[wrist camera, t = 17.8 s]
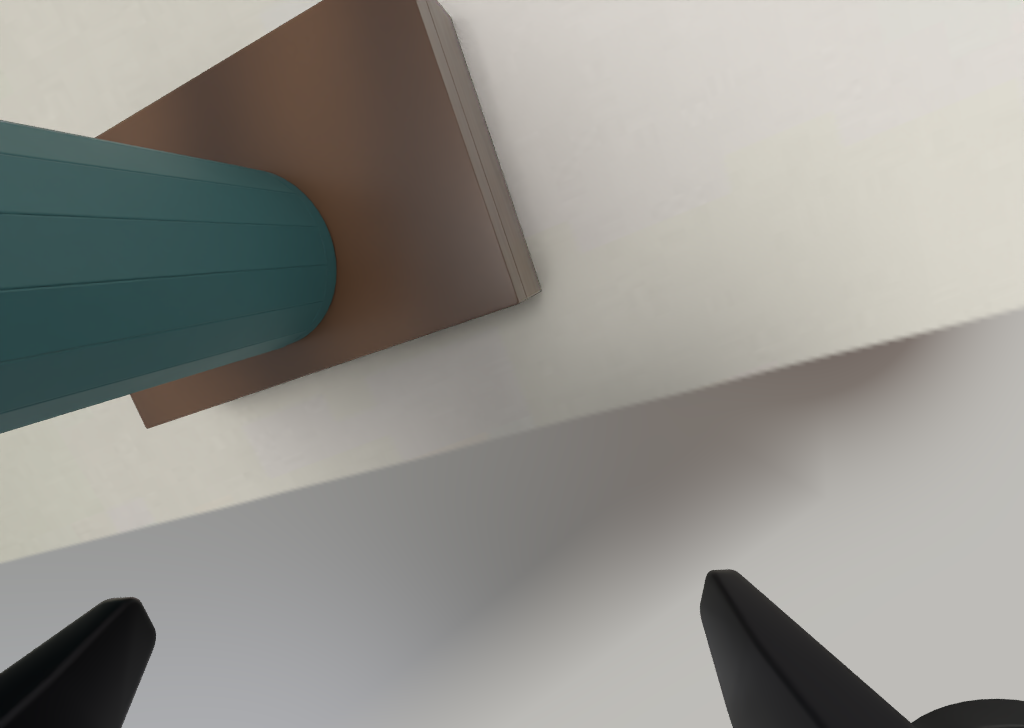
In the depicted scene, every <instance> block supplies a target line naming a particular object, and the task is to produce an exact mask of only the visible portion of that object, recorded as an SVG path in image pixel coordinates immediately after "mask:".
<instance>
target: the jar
mask: <svg viewBox="0 0 1024 728" xmlns="http://www.w3.org/2000/svg"><path fill="white" fill-rule="evenodd" d="M336 272H337V268H336V256H335V251H334V246H333V242H332V239H331V236H330V233H329V231H328V228H327V226H326V224H325V222H324V220H323V218H322V216H321V215H320V213H319V211H318V210H317V209H316V207H315V206H314V204H313V203H312V202H311V201H310V200H309V199H308V197H307V196H306V195H305V194H304V193H303V192H302V191H300V190H299V189H298V188H297V187H296V186H295V185H293V184H292V183H290V182H289V181H287V180H285V179H284V178H282V177H279V176H277V175H275V174H272V173H269V172H266V171H262V170H256V169H251V168H247V167H242V166H238V165H233V164H227V163H222V162H217V161H212V160H206V159H201V158H196V157H191V156H186V155H180V154H175V153H170V152H165V151H159V150H154V149H149V148H144V147H139V146H133V145H128V144H123V143H118V142H112V141H107V140H102V139H97V138H91V137H86V136H81V135H76V134H71V133H65V132H60V131H55V130H50V129H44V128H39V127H34V126H29V125H23V124H18V123H13V122H8V121H3V120H0V433H4V432H7V431H10V430H13V429H17V428H20V427H23V426H27V425H30V424H33V423H36V422H40V421H43V420H46V419H50V418H53V417H56V416H59V415H63V414H66V413H69V412H73V411H76V410H79V409H82V408H86V407H89V406H92V405H96V404H99V403H102V402H105V401H109V400H112V399H115V398H119V397H122V396H125V395H128V394H132V393H135V392H138V391H142V390H145V389H148V388H151V387H155V386H158V385H161V384H164V383H168V382H171V381H174V380H178V379H181V378H184V377H187V376H191V375H194V374H197V373H201V372H204V371H207V370H210V369H214V368H217V367H220V366H224V365H227V364H230V363H233V362H237V361H240V360H243V359H247V358H250V357H253V356H256V355H260V354H263V353H266V352H270V351H273V350H276V349H279V348H283V347H285V346H287V345H288V344H291V343H294V342H296V341H299V340H300V339H302V338H304V337H305V336H307V335H308V334H309V333H310V332H312V331H313V330H314V329H315V328H316V327H317V326H318V324H319V323H320V322H321V321H322V319H323V317H324V316H325V314H326V313H327V311H328V308H329V306H330V304H331V301H332V298H333V295H334V291H335V285H336Z"/></svg>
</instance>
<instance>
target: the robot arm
mask: <svg viewBox="0 0 1024 728" xmlns="http://www.w3.org/2000/svg"><path fill="white" fill-rule="evenodd" d="M700 614H701V619H702V623H703V627H704V630H705V634H706V637H707V640H708V644H709V648H710V651H711V655H712V658H713V662H714V665H715V668H716V672H717V676H718V679H719V683H720V686H721V690H722V693H723V697H724V700H725V704H726V707H727V711H728V714H729V717H730V720H731V723H732V726H733V728H916V727H915V726H914V725H913V724H912V723H910V722H909V721H908V720H907V719H906V718H905V717H903V716H902V715H901V714H900V713H899V712H898V711H897V710H895V709H894V708H893V707H892V706H891V705H890V704H888V703H887V702H886V701H885V700H884V699H883V698H882V697H880V696H879V695H878V694H877V693H876V692H875V691H874V690H873V689H871V688H870V687H869V686H868V685H867V684H866V683H864V682H863V681H862V680H861V679H860V678H859V677H858V676H856V675H855V674H854V673H853V672H852V671H851V670H850V669H848V668H847V667H846V666H845V665H844V664H843V663H842V662H840V661H839V660H838V659H837V658H836V657H835V656H834V655H832V654H831V653H830V652H829V651H828V650H827V649H825V648H824V647H823V646H822V645H821V644H819V642H817V641H816V640H815V639H814V638H813V637H812V636H811V635H809V634H808V633H807V632H806V631H805V630H804V629H803V628H801V627H800V626H799V625H798V624H797V623H796V622H794V621H793V620H792V619H791V618H790V617H788V615H786V614H785V613H784V612H783V611H782V610H781V609H780V608H778V607H777V606H776V605H775V604H774V603H773V602H772V601H770V600H769V599H768V598H767V597H766V596H765V595H764V594H762V593H761V592H760V591H759V590H758V589H757V588H755V587H754V586H753V585H752V584H751V583H750V582H748V581H747V580H746V579H745V578H744V577H743V576H742V575H740V574H739V573H738V572H736V571H734V570H712V571H710V572H709V573H708V574H707V576H706V580H705V584H704V589H703V594H702V598H701V603H700ZM155 641H156V632H155V628H154V626H153V624H152V622H151V621H150V619H149V617H148V615H147V613H146V611H145V609H144V607H143V605H142V603H141V602H140V600H139V599H137V598H134V597H125V598H111V599H107V600H105V601H103V602H101V603H100V604H98V605H97V606H95V607H94V608H92V609H91V610H90V611H88V612H87V613H86V614H84V615H83V616H81V617H80V618H78V619H77V620H75V621H74V622H73V623H71V624H70V625H68V626H67V627H66V628H64V629H63V630H61V631H60V632H59V633H57V634H56V635H54V636H53V637H51V638H50V639H49V640H47V641H46V642H44V643H43V644H42V645H40V646H39V647H37V648H36V649H34V650H33V651H32V652H30V653H29V654H27V655H26V656H25V657H23V658H22V659H20V660H19V661H17V662H16V663H15V664H13V665H12V666H10V667H9V668H7V669H6V670H5V671H3V672H2V673H0V728H121V727H122V724H123V722H124V720H125V717H126V714H127V712H128V710H129V707H130V705H131V703H132V700H133V698H134V695H135V693H136V690H137V688H138V685H139V683H140V680H141V677H142V675H143V673H144V671H145V668H146V665H147V663H148V661H149V658H150V656H151V653H152V651H153V648H154V645H155Z"/></svg>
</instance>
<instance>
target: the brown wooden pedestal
mask: <svg viewBox="0 0 1024 728" xmlns="http://www.w3.org/2000/svg"><path fill="white" fill-rule="evenodd" d="M95 138H97V139H102V140H107V141H112V142H118V143H123V144H128V145H133V146H139V147H144V148H149V149H154V150H159V151H165V152H170V153H175V154H180V155H186V156H191V157H196V158H201V159H206V160H212V161H217V162H222V163H227V164H233V165H238V166H242V167H247V168H251V169H256V170H262V171H266V172H269V173H272V174H275V175H277V176H279V177H282V178H284V179H285V180H287V181H289V182H290V183H292V184H293V185H295V186H296V187H297V188H298V189H299V190H300V191H302V192H303V193H304V194H305V195H306V196H307V197H308V199H309V200H310V201H311V202H312V203H313V204H314V206H315V207H316V209H317V210H318V211H319V213H320V215H321V216H322V218H323V220H324V222H325V224H326V226H327V228H328V231H329V233H330V236H331V239H332V242H333V246H334V251H335V256H336V268H337V272H336V285H335V291H334V295H333V298H332V301H331V304H330V306H329V308H328V311H327V313H326V314H325V316H324V317H323V319H322V321H321V322H320V323H319V324H318V326H317V327H316V328H315V329H314V330H313V331H312V332H310V333H309V334H308V335H307V336H305V337H304V338H302V339H300V340H299V341H296V342H294V343H291V344H288V345H287V346H285V347H283V348H279V349H276V350H273V351H270V352H266V353H263V354H260V355H256V356H253V357H250V358H247V359H243V360H240V361H237V362H233V363H230V364H227V365H224V366H220V367H217V368H214V369H210V370H207V371H204V372H201V373H197V374H194V375H191V376H187V377H184V378H181V379H178V380H174V381H171V382H168V383H164V384H161V385H158V386H155V387H151V388H148V389H145V390H142V391H138V392H135V393H132V394H130V395H131V397H132V400H133V402H134V404H135V406H136V408H137V410H138V412H139V414H140V416H141V418H142V420H143V422H144V425H145V427H146V428H147V429H148V428H151V427H154V426H157V425H160V424H163V423H166V422H169V421H172V420H175V419H178V418H181V417H184V416H187V415H190V414H193V413H196V412H199V411H202V410H205V409H208V408H211V407H214V406H217V405H220V404H223V403H226V402H229V401H232V400H234V399H237V398H240V397H243V396H246V395H249V394H252V393H255V392H258V391H261V390H264V389H267V388H270V387H273V386H276V385H279V384H282V383H285V382H288V381H291V380H294V379H297V378H300V377H303V376H306V375H309V374H312V373H315V372H318V371H321V370H324V369H327V368H330V367H332V366H335V365H338V364H341V363H344V362H347V361H350V360H353V359H356V358H359V357H362V356H365V355H368V354H371V353H374V352H377V351H380V350H383V349H386V348H389V347H392V346H395V345H398V344H401V343H404V342H407V341H410V340H413V339H416V338H419V337H422V336H425V335H428V334H430V333H433V332H436V331H439V330H442V329H445V328H448V327H451V326H454V325H457V324H460V323H463V322H466V321H469V320H472V319H475V318H478V317H481V316H484V315H487V314H490V313H493V312H496V311H499V310H502V309H505V308H508V307H511V306H514V305H517V304H519V303H521V302H523V301H525V300H526V299H528V298H530V297H532V296H533V295H535V294H537V293H539V292H541V287H540V284H539V281H538V278H537V275H536V272H535V269H534V266H533V263H532V260H531V257H530V254H529V251H528V248H527V245H526V242H525V239H524V236H523V233H522V230H521V227H520V224H519V221H518V218H517V215H516V212H515V209H514V206H513V203H512V200H511V197H510V194H509V191H508V188H507V185H506V182H505V179H504V176H503V173H502V170H501V167H500V164H499V161H498V158H497V155H496V152H495V149H494V146H493V143H492V140H491V137H490V134H489V131H488V128H487V125H486V122H485V119H484V116H483V113H482V110H481V107H480V104H479V101H478V98H477V95H476V92H475V89H474V86H473V83H472V80H471V77H470V74H469V71H468V68H467V65H466V62H465V59H464V56H463V53H462V50H461V47H460V44H459V41H458V38H457V35H456V32H455V29H454V26H453V23H452V20H451V17H450V16H449V15H448V13H447V12H446V11H445V10H444V8H443V7H442V6H441V5H440V3H439V2H438V1H437V0H323V1H321V2H319V3H318V4H316V5H314V6H313V7H311V8H309V9H308V10H306V11H304V12H303V13H301V14H299V15H298V16H296V17H294V18H293V19H291V20H289V21H288V22H286V23H284V24H283V25H281V26H279V27H278V28H276V29H275V30H273V31H271V32H270V33H268V34H266V35H265V36H263V37H261V38H260V39H258V40H256V41H255V42H253V43H251V44H250V45H248V46H246V47H245V48H243V49H241V50H240V51H238V52H236V53H235V54H233V55H231V56H230V57H228V58H226V59H225V60H223V61H221V62H220V63H218V64H217V65H215V66H213V67H212V68H210V69H208V70H207V71H205V72H203V73H202V74H200V75H198V76H197V77H195V78H193V79H192V80H190V81H188V82H187V83H185V84H183V85H182V86H180V87H178V88H177V89H175V90H173V91H172V92H170V93H168V94H167V95H165V96H163V97H162V98H160V99H158V100H157V101H155V102H154V103H152V104H150V105H149V106H147V107H145V108H144V109H142V110H140V111H139V112H137V113H135V114H134V115H132V116H130V117H129V118H127V119H125V120H124V121H122V122H120V123H119V124H117V125H115V126H114V127H112V128H110V129H109V130H107V131H105V132H104V133H102V134H100V135H99V136H97V137H95Z"/></svg>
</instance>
